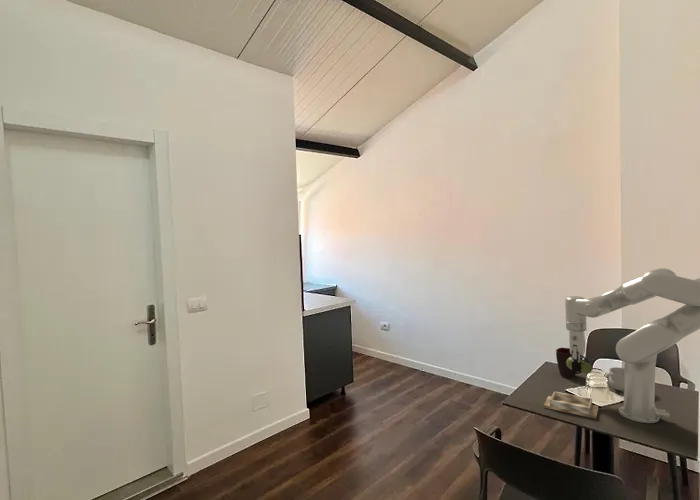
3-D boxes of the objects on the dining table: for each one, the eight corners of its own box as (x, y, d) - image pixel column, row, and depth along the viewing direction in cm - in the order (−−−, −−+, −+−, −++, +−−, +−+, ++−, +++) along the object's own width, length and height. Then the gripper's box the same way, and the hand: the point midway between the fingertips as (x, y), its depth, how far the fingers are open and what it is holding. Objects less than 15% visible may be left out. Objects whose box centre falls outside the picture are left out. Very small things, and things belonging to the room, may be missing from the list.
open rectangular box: (598, 408, 163) (598, 399, 163) (596, 418, 155) (596, 409, 155) (548, 398, 174) (548, 390, 174) (543, 407, 165) (543, 398, 165)
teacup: (629, 384, 186) (629, 367, 186) (643, 394, 175) (644, 376, 175) (596, 384, 188) (596, 366, 187) (609, 394, 177) (609, 375, 176)
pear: (571, 353, 178) (596, 362, 170) (569, 365, 179) (594, 374, 171) (564, 356, 175) (589, 365, 167) (563, 368, 176) (587, 377, 168)
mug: (559, 370, 206) (559, 346, 205) (591, 376, 197) (591, 352, 196) (553, 376, 199) (553, 351, 198) (586, 383, 189) (586, 357, 189)
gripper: (584, 331, 164) (585, 376, 164) (588, 322, 178) (589, 364, 178) (563, 329, 168) (564, 373, 169) (568, 321, 182) (570, 362, 183)
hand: (577, 368), depth 173 cm, fingers closed on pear, 6 cm apart
